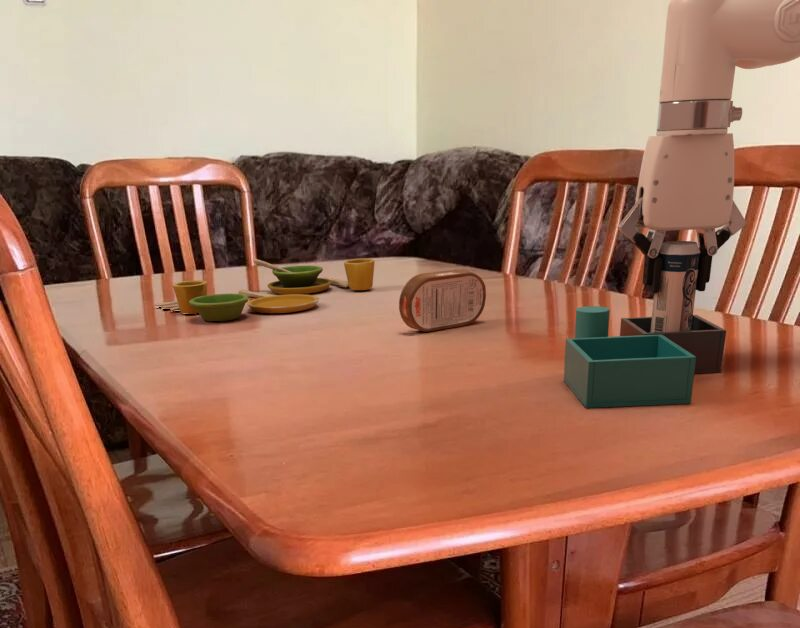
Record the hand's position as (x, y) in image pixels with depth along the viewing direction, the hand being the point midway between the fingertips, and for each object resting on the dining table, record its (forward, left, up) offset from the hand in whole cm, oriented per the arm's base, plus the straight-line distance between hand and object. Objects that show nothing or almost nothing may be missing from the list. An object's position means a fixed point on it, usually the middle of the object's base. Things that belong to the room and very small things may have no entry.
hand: (674, 288), depth 99 cm
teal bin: (+8, +11, -9) cm, 17 cm away
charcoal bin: (0, 0, -9) cm, 9 cm away
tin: (+25, -28, -9) cm, 39 cm away
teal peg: (+9, -1, -9) cm, 13 cm away
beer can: (0, 0, -7) cm, 7 cm away
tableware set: (+54, -59, -9) cm, 81 cm away
